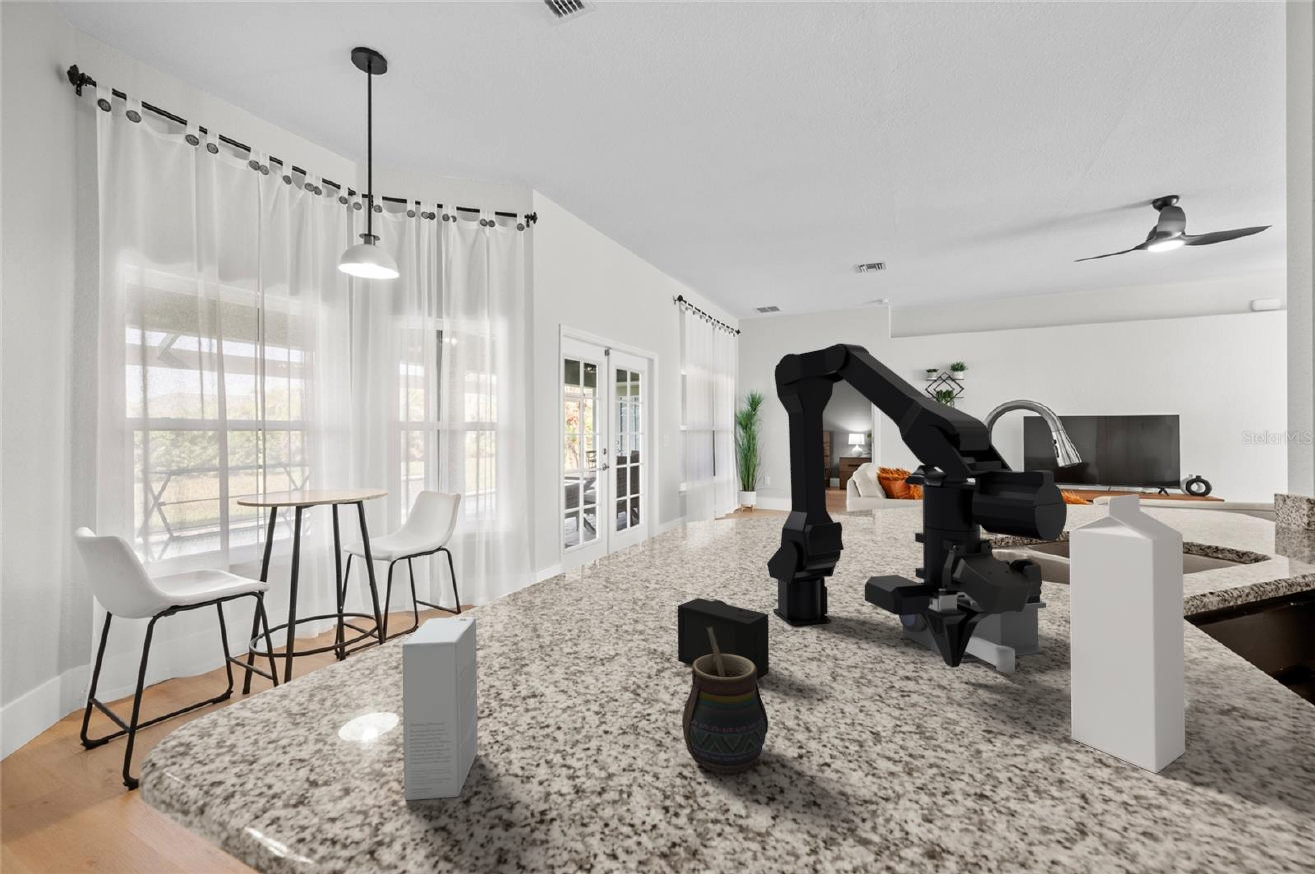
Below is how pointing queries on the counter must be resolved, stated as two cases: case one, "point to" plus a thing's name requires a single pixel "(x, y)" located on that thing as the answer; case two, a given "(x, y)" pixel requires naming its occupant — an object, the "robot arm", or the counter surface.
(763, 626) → the digital camera
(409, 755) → the skincare box
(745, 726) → the mate gourd
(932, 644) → the camera housing
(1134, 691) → the milk
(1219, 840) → the counter surface
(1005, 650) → the side hatch
